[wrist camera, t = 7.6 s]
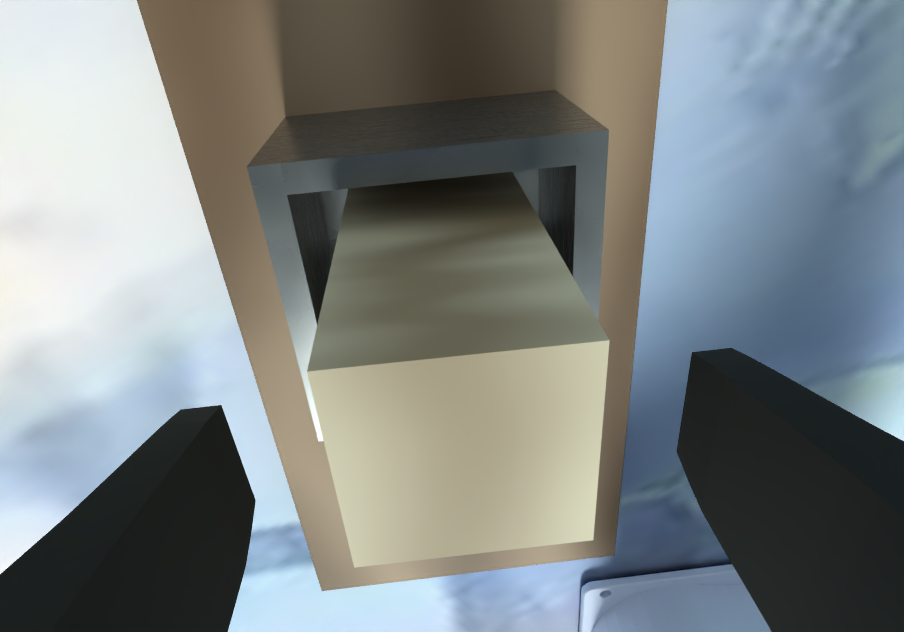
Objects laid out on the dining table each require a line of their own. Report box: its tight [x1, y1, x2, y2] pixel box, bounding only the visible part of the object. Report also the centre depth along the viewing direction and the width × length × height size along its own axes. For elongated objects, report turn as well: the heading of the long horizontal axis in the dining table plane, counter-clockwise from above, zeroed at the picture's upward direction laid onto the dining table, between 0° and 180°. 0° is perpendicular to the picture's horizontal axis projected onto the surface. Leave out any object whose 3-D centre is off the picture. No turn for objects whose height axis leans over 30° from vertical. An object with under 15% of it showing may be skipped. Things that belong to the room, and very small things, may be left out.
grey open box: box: [247, 90, 609, 441], centre depth 14 cm, size 7×7×4 cm
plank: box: [137, 0, 668, 591], centre depth 19 cm, size 12×22×1 cm, turn 5°
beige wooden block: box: [307, 172, 610, 568], centre depth 12 cm, size 4×4×8 cm
